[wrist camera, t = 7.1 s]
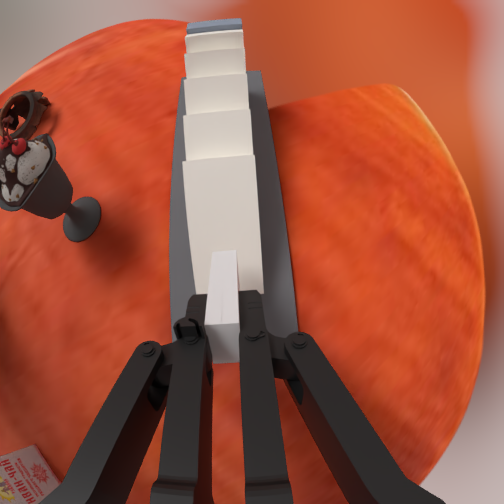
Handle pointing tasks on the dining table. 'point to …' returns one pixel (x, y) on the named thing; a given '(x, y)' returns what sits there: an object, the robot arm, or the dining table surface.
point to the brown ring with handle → (23, 113)
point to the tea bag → (25, 477)
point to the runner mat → (270, 219)
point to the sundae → (42, 185)
